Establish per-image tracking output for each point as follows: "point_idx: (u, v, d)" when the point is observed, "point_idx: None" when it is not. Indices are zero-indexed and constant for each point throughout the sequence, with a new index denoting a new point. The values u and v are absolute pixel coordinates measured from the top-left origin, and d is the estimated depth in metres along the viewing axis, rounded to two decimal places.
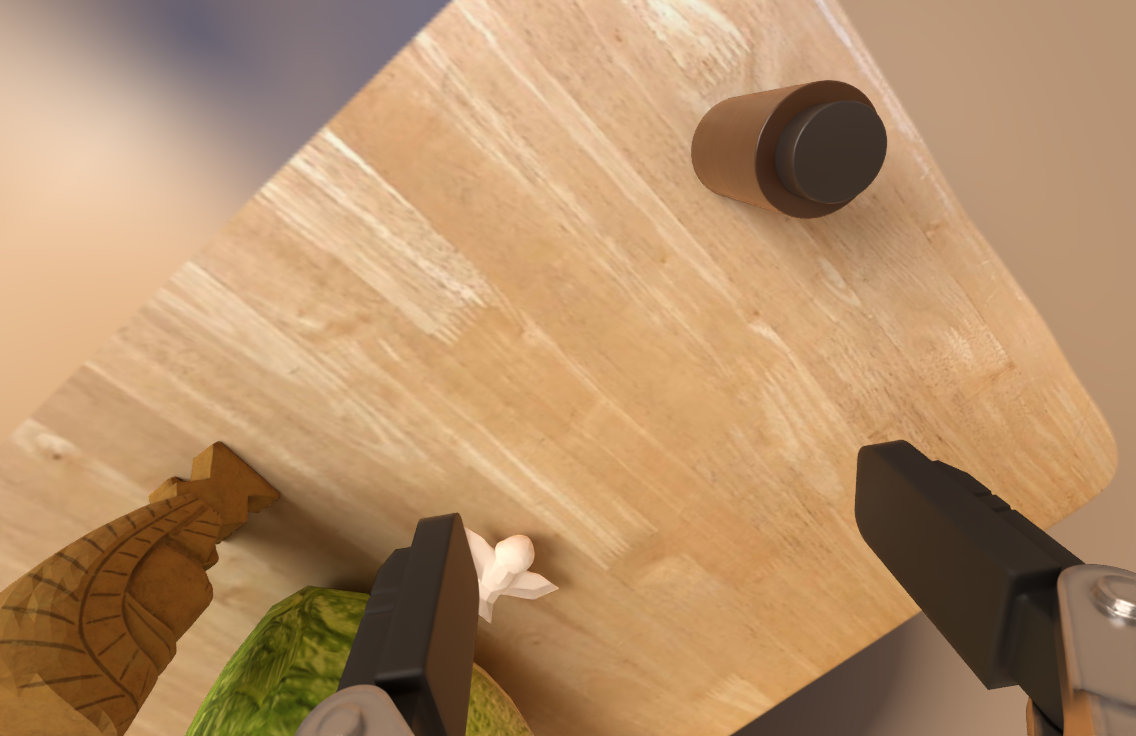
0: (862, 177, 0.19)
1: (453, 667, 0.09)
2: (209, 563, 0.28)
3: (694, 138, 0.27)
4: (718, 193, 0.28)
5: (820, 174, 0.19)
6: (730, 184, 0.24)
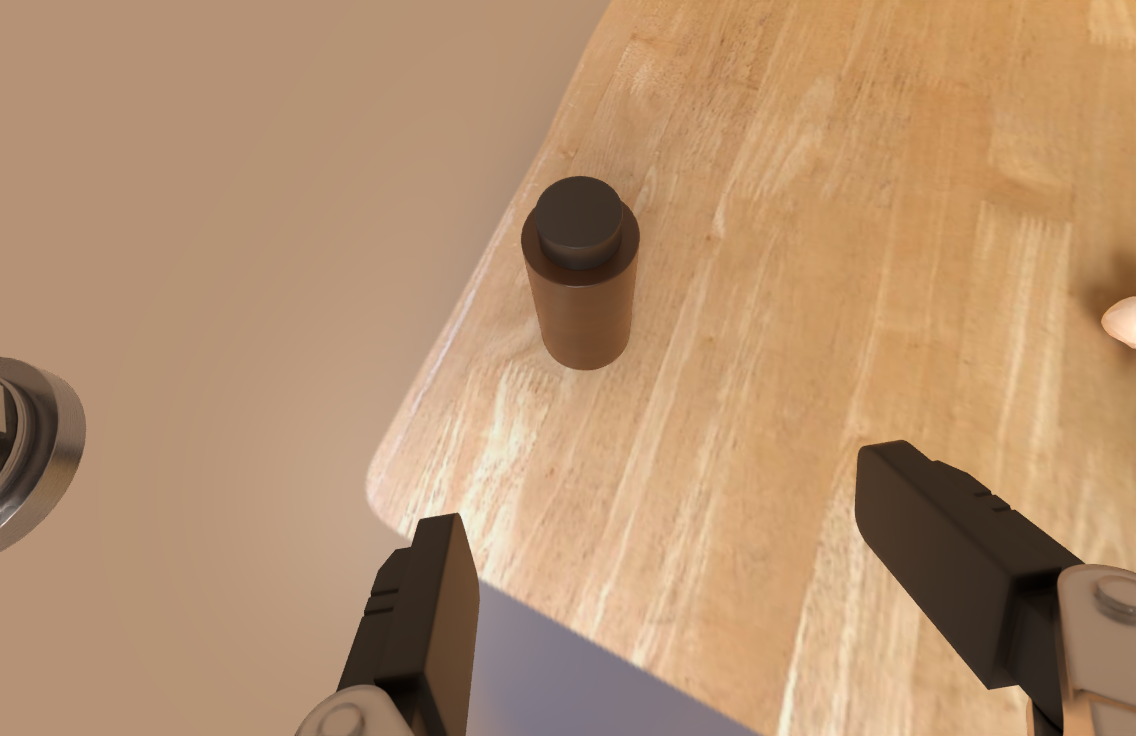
0: (586, 184, 0.21)
1: (453, 667, 0.09)
2: None
3: (596, 367, 0.28)
4: None
5: (601, 215, 0.20)
6: (628, 302, 0.24)
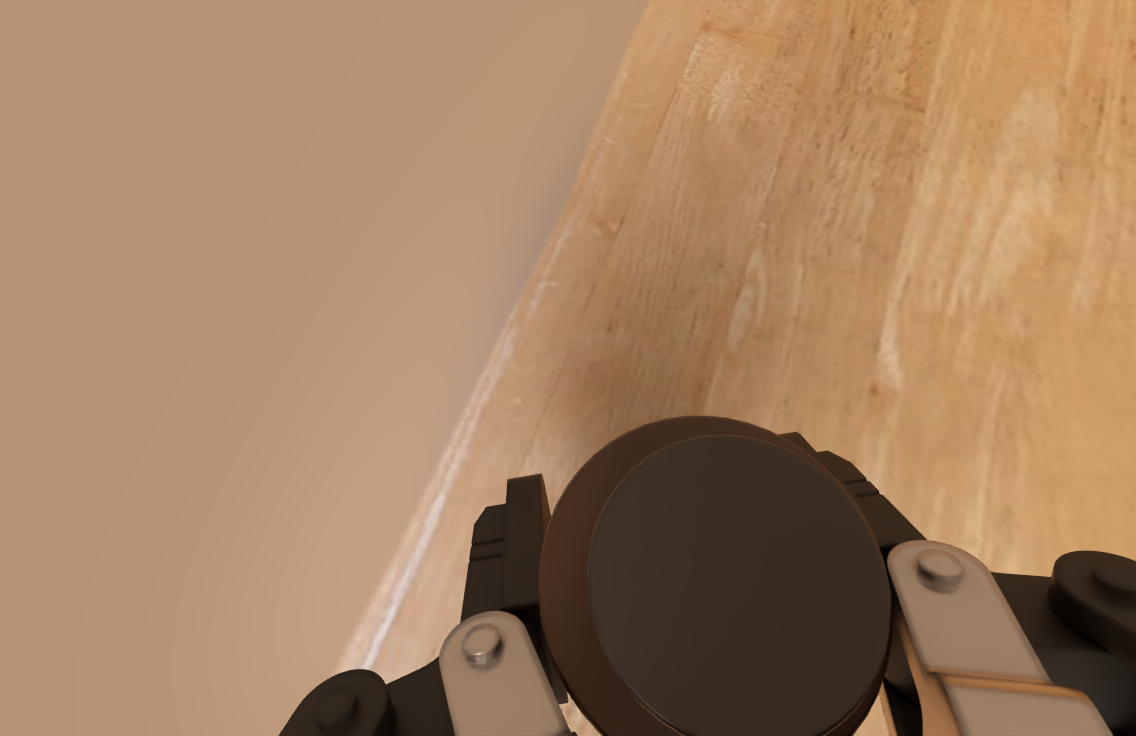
0: (750, 471, 0.06)
1: None
2: None
3: None
4: None
5: (819, 604, 0.06)
6: None
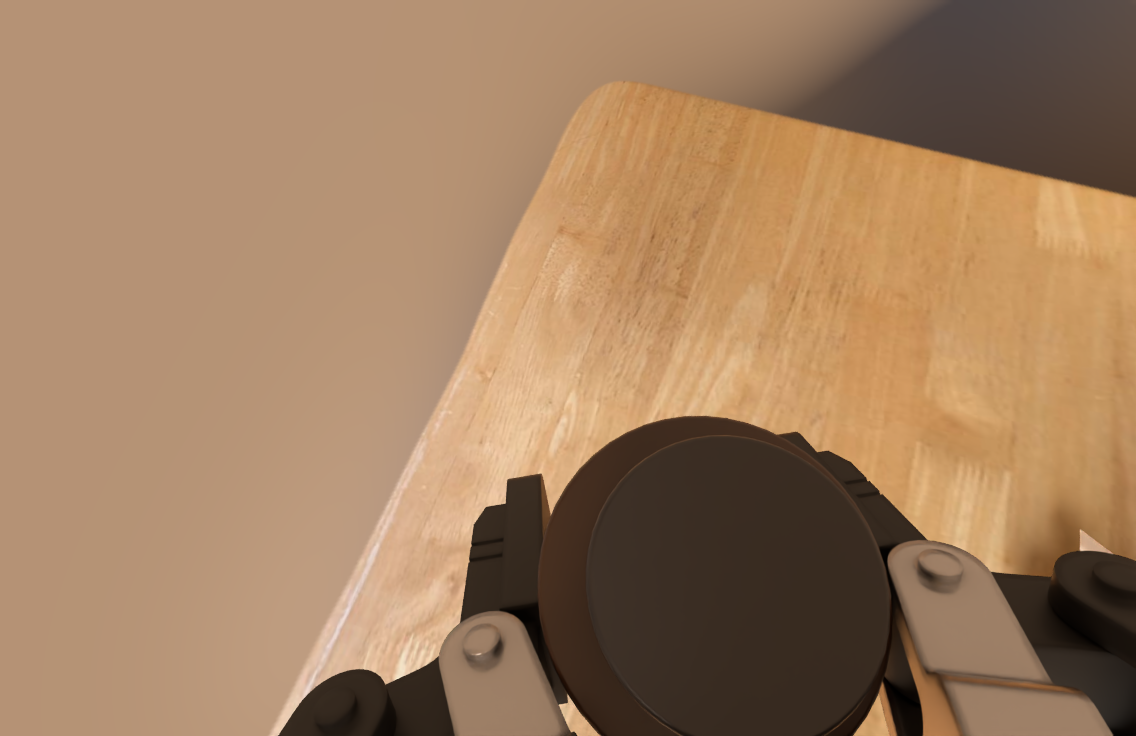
0: (749, 471, 0.06)
1: None
2: None
3: None
4: None
5: (818, 604, 0.06)
6: None
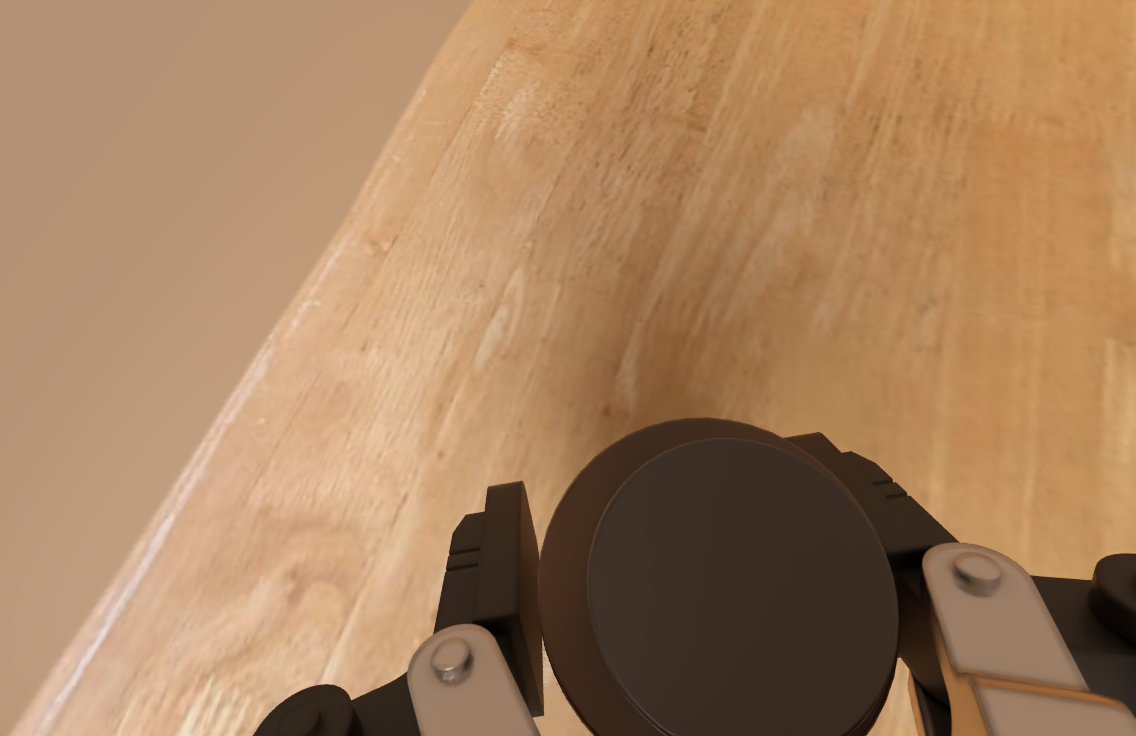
0: (754, 475, 0.06)
1: (532, 618, 0.09)
2: None
3: None
4: None
5: (825, 613, 0.06)
6: None
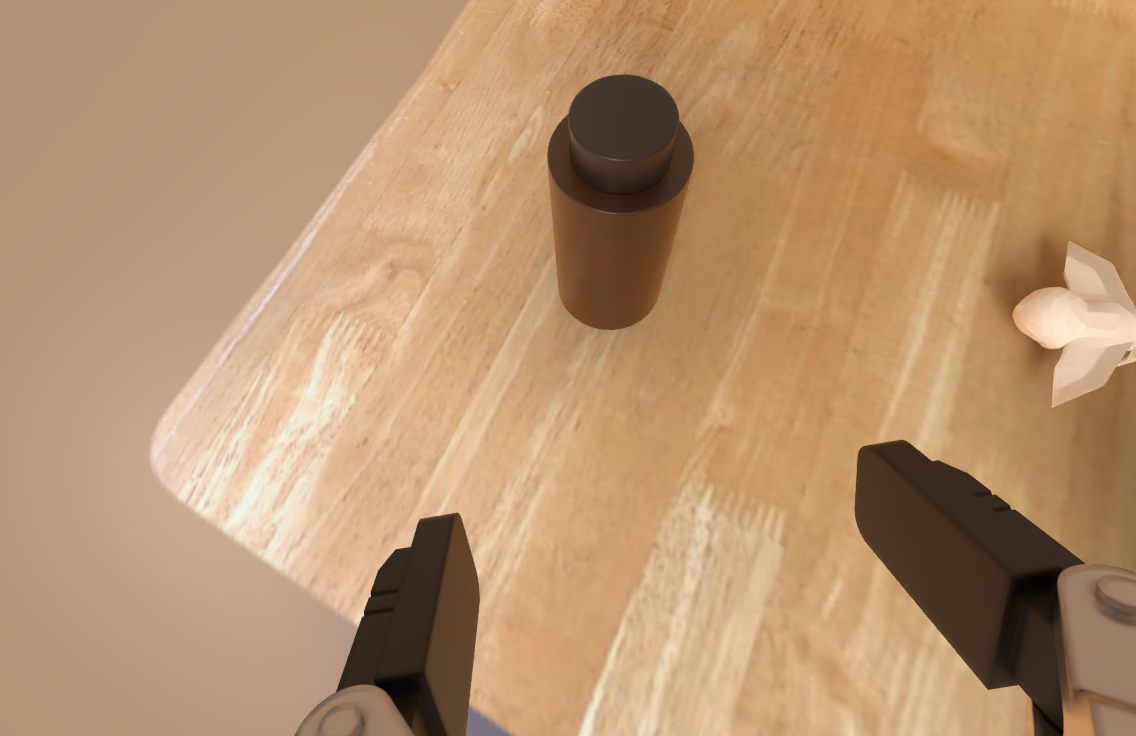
0: (635, 85, 0.16)
1: (453, 667, 0.09)
2: None
3: (619, 326, 0.24)
4: None
5: (652, 123, 0.16)
6: (668, 247, 0.20)
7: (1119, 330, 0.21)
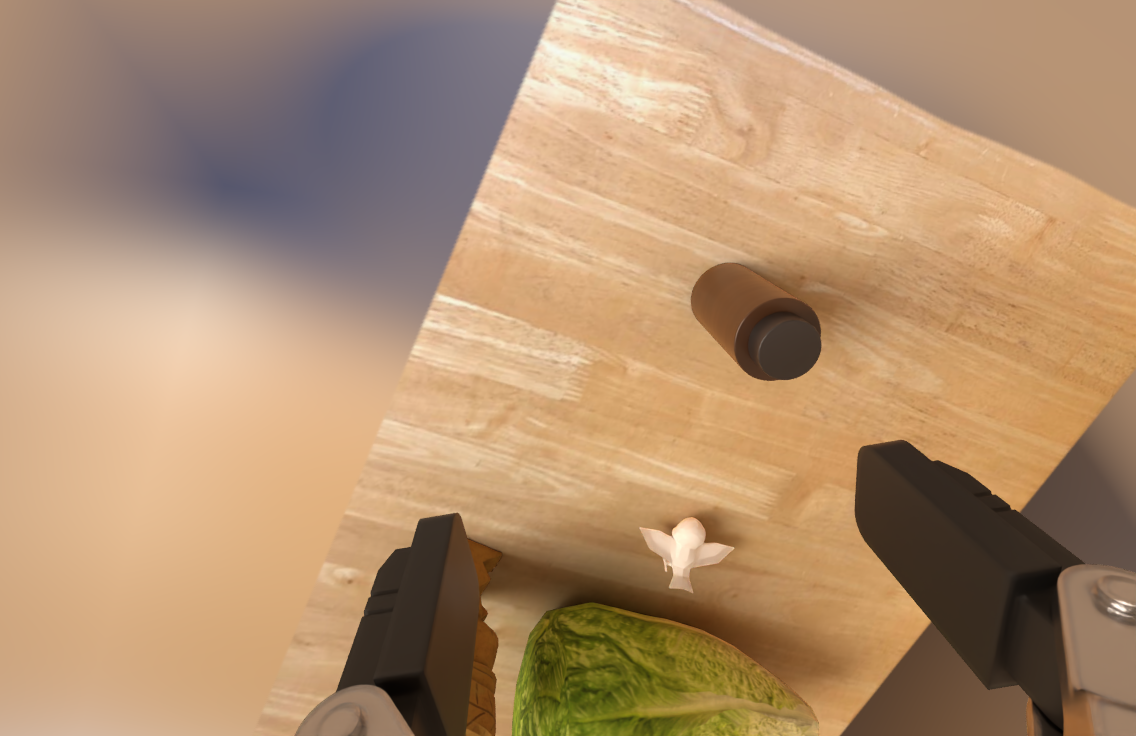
0: (811, 355, 0.28)
1: (453, 667, 0.09)
2: (483, 617, 0.38)
3: (692, 307, 0.37)
4: None
5: (782, 366, 0.28)
6: None
7: (678, 559, 0.42)
